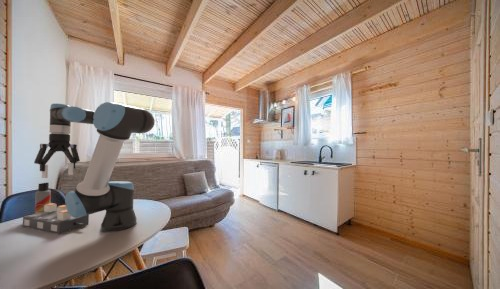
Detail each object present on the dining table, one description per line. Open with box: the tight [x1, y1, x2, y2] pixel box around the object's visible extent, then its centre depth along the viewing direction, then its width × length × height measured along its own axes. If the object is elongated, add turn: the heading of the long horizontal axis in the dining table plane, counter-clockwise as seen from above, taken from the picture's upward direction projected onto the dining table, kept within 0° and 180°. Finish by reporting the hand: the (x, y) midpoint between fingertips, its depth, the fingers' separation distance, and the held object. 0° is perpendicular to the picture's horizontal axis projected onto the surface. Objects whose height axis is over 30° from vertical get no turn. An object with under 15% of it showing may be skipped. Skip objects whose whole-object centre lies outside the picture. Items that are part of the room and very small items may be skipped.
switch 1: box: [57, 210, 71, 221], centre depth 87 cm, size 4×3×4 cm
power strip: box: [22, 208, 90, 235], centre depth 91 cm, size 33×12×6 cm, turn 75°
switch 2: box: [56, 204, 67, 214], centre depth 95 cm, size 4×3×4 cm
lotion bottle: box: [34, 182, 52, 214], centre depth 102 cm, size 6×6×20 cm
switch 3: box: [44, 202, 58, 212], centre depth 97 cm, size 4×3×4 cm
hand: (58, 176), depth 93 cm, fingers open, 10 cm apart
